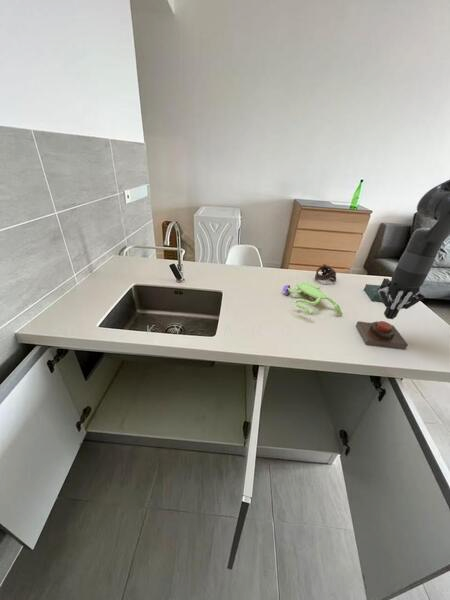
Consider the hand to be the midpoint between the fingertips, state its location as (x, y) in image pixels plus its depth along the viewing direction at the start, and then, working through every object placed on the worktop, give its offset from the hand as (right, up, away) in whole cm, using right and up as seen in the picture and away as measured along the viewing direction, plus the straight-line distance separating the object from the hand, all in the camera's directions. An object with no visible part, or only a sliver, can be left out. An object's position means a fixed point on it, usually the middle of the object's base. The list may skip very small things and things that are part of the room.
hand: (388, 317), depth 77 cm
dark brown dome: (-4, +15, +41) cm, 44 cm away
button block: (0, -7, +4) cm, 8 cm away
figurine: (-18, +4, +21) cm, 28 cm away
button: (0, -4, +2) cm, 5 cm away
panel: (+16, +7, +29) cm, 34 cm away
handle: (+17, +10, +27) cm, 33 cm away
